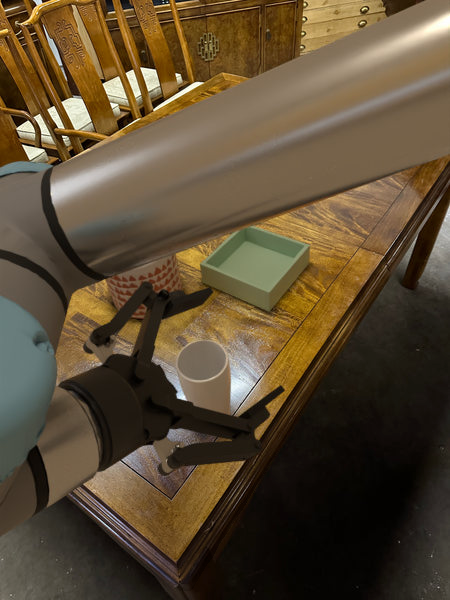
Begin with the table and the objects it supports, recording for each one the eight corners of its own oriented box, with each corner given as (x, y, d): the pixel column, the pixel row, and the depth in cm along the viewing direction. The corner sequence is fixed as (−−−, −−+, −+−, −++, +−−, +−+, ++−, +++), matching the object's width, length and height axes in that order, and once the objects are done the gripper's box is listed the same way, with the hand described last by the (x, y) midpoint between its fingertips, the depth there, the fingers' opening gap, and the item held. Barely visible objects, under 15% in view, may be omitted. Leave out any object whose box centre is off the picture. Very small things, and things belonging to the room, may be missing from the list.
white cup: (245, 423, 62) (239, 363, 51) (206, 450, 59) (192, 392, 49) (219, 392, 66) (210, 330, 55) (182, 415, 63) (165, 355, 53)
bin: (308, 264, 86) (310, 244, 82) (269, 311, 77) (269, 292, 73) (245, 241, 93) (244, 222, 89) (202, 282, 84) (199, 263, 81)
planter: (190, 309, 79) (179, 257, 70) (118, 328, 77) (98, 277, 68) (175, 265, 89) (164, 214, 80) (111, 281, 87) (92, 230, 78)
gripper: (-10, 324, 37) (165, 278, 53) (141, 592, 31) (285, 449, 47) (10, 271, 32) (194, 238, 48) (191, 576, 26) (331, 423, 42)
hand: (239, 342), depth 48 cm, fingers open, 13 cm apart
